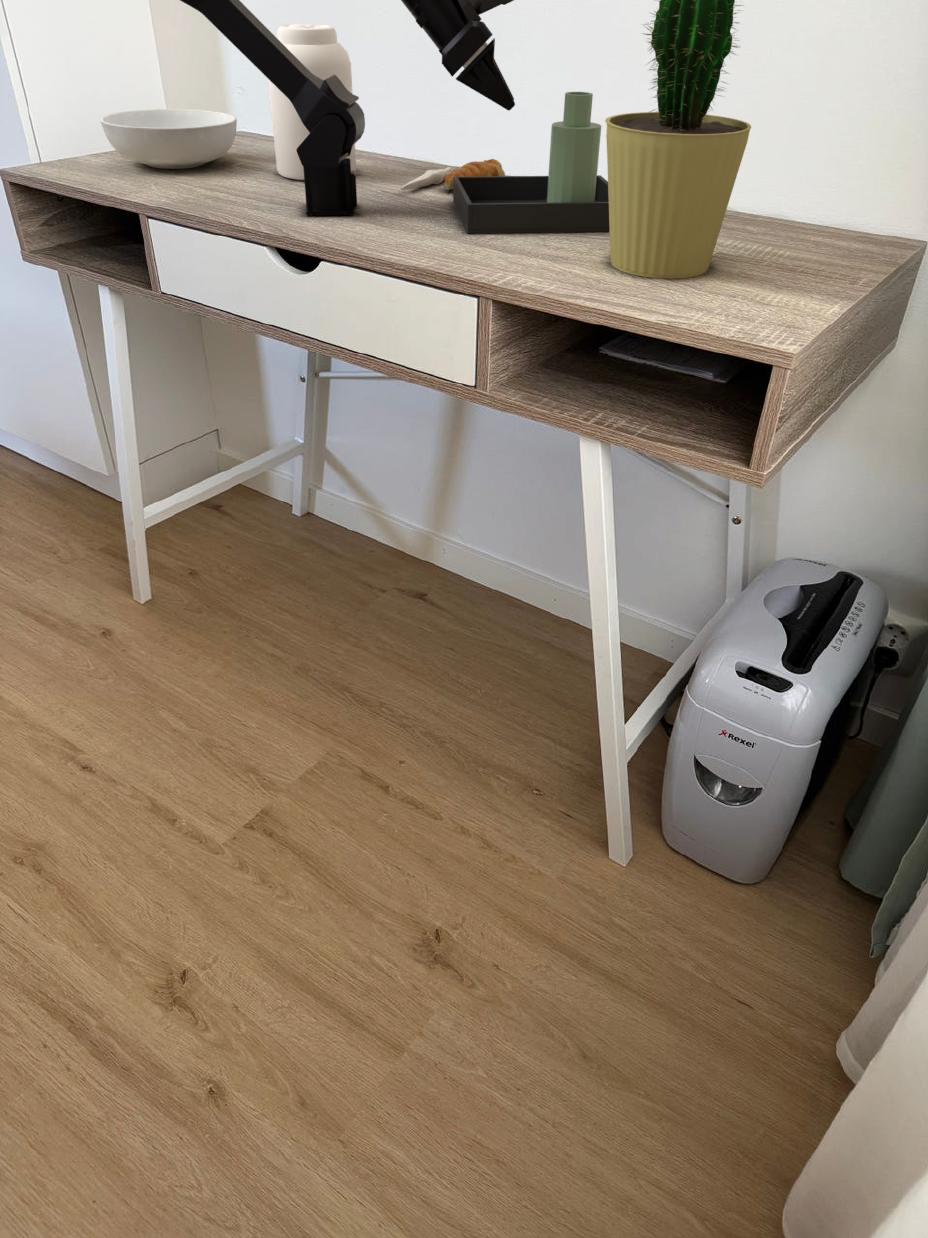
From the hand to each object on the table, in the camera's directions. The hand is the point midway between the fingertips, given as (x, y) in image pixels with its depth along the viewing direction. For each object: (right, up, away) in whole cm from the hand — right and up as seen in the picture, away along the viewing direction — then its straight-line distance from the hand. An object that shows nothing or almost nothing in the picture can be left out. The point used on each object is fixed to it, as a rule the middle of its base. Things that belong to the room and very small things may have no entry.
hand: (511, 104), depth 117 cm
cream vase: (-29, +5, +30) cm, 42 cm away
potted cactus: (+17, -24, -9) cm, 31 cm away
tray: (+4, -10, +9) cm, 14 cm away
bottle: (+8, -11, +7) cm, 15 cm away
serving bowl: (-53, +9, +35) cm, 64 cm away
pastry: (-4, 0, +23) cm, 23 cm away
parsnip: (-12, +1, +24) cm, 27 cm away
